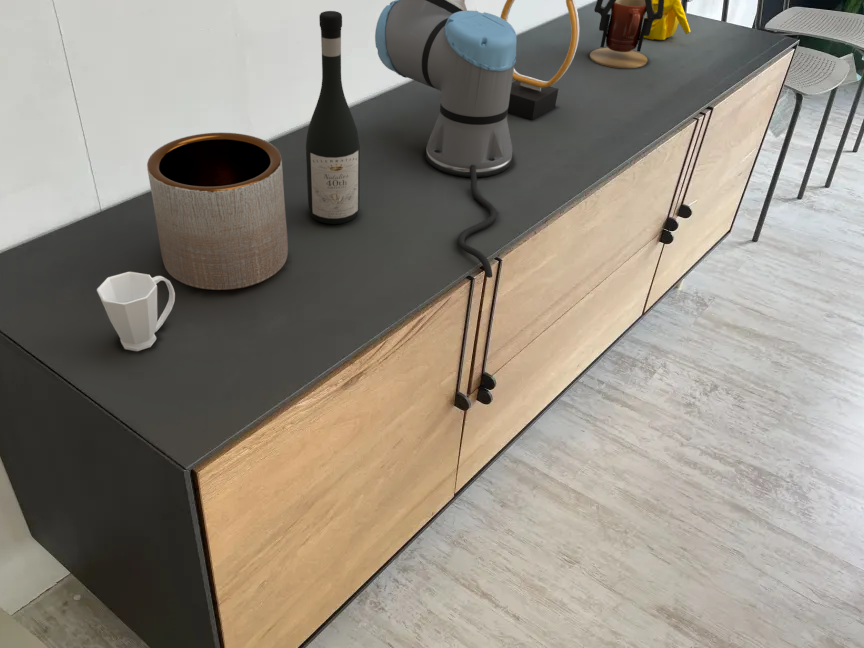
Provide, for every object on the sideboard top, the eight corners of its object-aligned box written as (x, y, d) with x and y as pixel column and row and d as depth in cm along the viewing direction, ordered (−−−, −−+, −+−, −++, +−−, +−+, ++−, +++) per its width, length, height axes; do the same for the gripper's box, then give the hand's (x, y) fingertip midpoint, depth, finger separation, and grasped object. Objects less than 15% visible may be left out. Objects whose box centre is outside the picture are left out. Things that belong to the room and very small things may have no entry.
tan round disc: (645, 71, 175) (646, 69, 175) (587, 64, 178) (587, 62, 178) (648, 53, 185) (648, 51, 185) (592, 46, 188) (592, 45, 187)
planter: (172, 230, 118) (155, 131, 108) (289, 228, 120) (283, 130, 109) (156, 298, 105) (135, 192, 95) (288, 294, 106) (281, 189, 96)
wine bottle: (362, 225, 121) (364, 21, 101) (311, 228, 120) (303, 23, 100) (355, 200, 127) (355, 3, 107) (306, 203, 126) (298, 5, 106)
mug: (597, 41, 185) (606, -5, 178) (634, 42, 185) (645, -5, 178) (608, 58, 175) (618, 10, 169) (647, 59, 175) (658, 11, 169)
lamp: (478, 103, 159) (497, -73, 139) (502, 91, 165) (524, -80, 144) (549, 125, 151) (581, -57, 131) (572, 112, 156) (606, -66, 136)
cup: (97, 343, 97) (83, 289, 92) (158, 306, 104) (148, 254, 98) (135, 365, 94) (123, 311, 89) (196, 326, 101) (187, 273, 95)
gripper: (695, -64, 165) (666, 47, 180) (597, -72, 170) (577, 37, 185) (695, -56, 160) (665, 58, 175) (594, -65, 164) (574, 47, 179)
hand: (620, 47), depth 180 cm, fingers closed on mug, 7 cm apart
